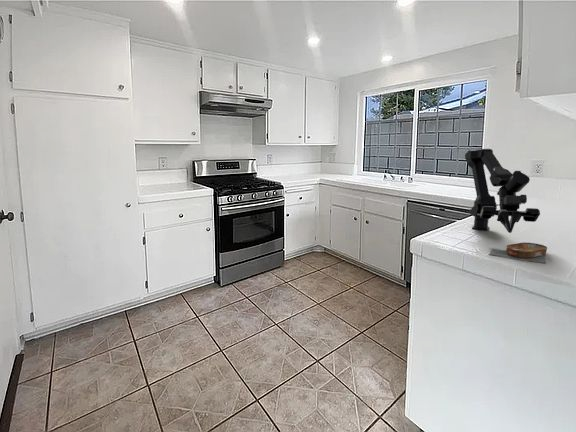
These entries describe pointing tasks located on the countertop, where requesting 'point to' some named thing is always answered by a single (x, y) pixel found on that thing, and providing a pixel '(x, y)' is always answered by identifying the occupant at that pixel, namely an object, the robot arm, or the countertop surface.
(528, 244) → the tin
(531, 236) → the countertop surface
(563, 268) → the countertop surface
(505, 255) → the mat
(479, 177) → the robot arm
